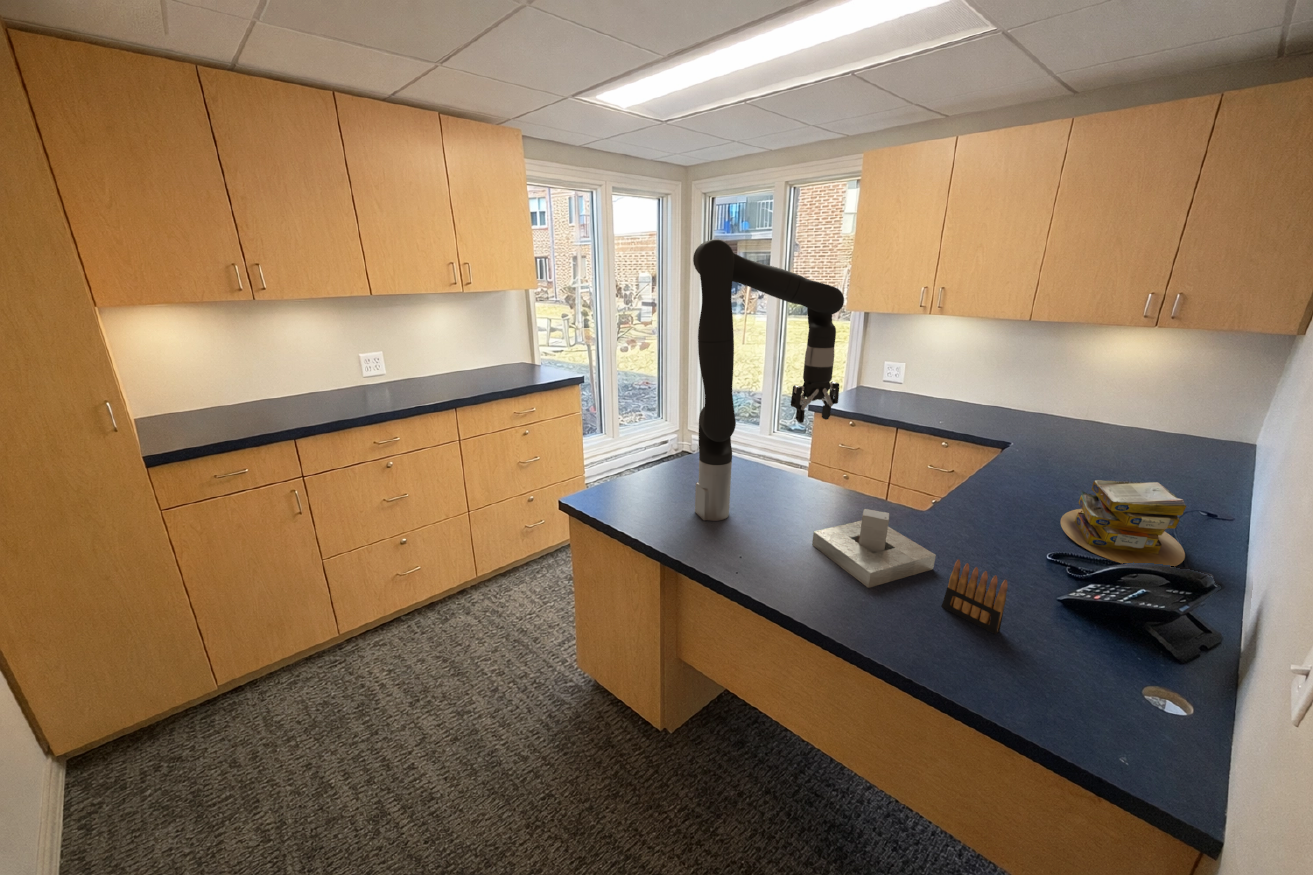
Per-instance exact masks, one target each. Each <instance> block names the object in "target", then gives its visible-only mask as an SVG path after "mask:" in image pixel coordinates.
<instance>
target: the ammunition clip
mask: <svg viewBox="0 0 1313 875" xmlns="http://www.w3.org/2000/svg"><path fill="white" fill-rule="evenodd" d="M960 571H961V560H960V559H957V560H956V561H955V562H954V566H953V570H952V571H951V574H950V577H949V580H948V581H949V582H948V584H947V585H948V586H947V587H946V590H945V593H944V597H943V600H942V604H941V607H942V608H943V609H945V610H946V611H949V612H950V611H951V612H950V613H952V614H954V615H956V616H958V617H960V618H962V619H964V620H966V619H967V620H966V621H969V622H970V623H972V624H974V625H976V626H978V625H979V626H978V627H980V628H982V629H983V630H985V629H986V631H988V632H989V633H991V632H992V633H991V634H993V633H994V634H993V635H997V634H998V633H999V632H1000V631H1001V625H1002V620H1003V616H1004V609H1005V605H1006V601H1007V592H1008V584H1009V583H1008V580H1007V579H1004V580H1003V582H1002V583H1001V585H1000V587H999V590H998V593H997V586H998V576H997V575H996V574H995V575H994V576H992V579H991V580H990V583H989V586H988V589H987V584H988V578H989V577H988V571H986V570H985V571H983V573H982V574H981V576H980V580H979V583H978V579H979V568H978V567H977V566H975V567H974V569H973V571H972V572H971V575H970V579H969V574H970V564H969V563H968V562H967V563H965V565H964V567H963V569H962V572H961V574H960Z"/></svg>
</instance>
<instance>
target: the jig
mask: <svg viewBox="0 0 1313 875" xmlns="http://www.w3.org/2000/svg"><path fill="white" fill-rule="evenodd" d="M861 523H862V520H857V521H853V522H850V523H849V522H848V523H845V524H840V525H835V526H832V527H831V526H830V527H827V528H823V529H818V530H814V531H813V533H812V534H813V535H812V543H811V545H812V546H813V547H814V548H816V549H817V550H818V551H819V552H820V553H822V554H823V555H824V556H826V557H827V558H829V560H831V561H832V562H833V563H835V564H836V565H838V566H839V567H840V568H842V569H843V570H844V571H845V572H847V573H848V574H849V575H851V576H852V577H853V578H854V579H856V580H857V581H859V582H860V583H862V585H864V586H865V587H866V588H867V589H870V588H874V587H876V586H877V587H878V586H879V585H883V584H887V583H891V582H894V581H897V580H900V579H905V578H907V577H911V576H915V575H917V574H921V573H924V572H925V573H926V572H928V571H929V572H930V571H932V570H933V569H934V566H935V561H936V557H937V554H935V553H933V552H932V551H930V550H928V549H927V548H925V547H923V546H922V545H920V544H918V543H917V542H915V541H913V540H912V539H910V538H909V537H907V536H905V535H903V534H901V533H900V532H898V531H897V530H895V529H893V528H892V527H890V526H888V530H887V536H886V543H885V549H884V551H881V552H878V553H874V554H873V553H872V552H870V551H869V550H867V549H866V548H864V547H863V546H861V545H860V544H859V538H860V531H861Z"/></svg>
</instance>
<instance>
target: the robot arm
mask: <svg viewBox="0 0 1313 875" xmlns="http://www.w3.org/2000/svg"><path fill="white" fill-rule="evenodd" d="M692 261H693V262H692V263H693V266H694V269H695V270H696V272H697V273H698V274H699V278H700V279H699V280H700V285H701V286H700V288H701V310H700V314H699V321H698V332H697V344H698V345H697V348H698V350H697V351H698V362H699V368H700V373H701V374H700V375H701V378H702V379H701V380H702V382H703V383H702V384H703V389H704V390H703V391H704V406H703V407H702V409H701V411H700V413H699V418H698V453H699V456H698V457H699V458H698V462H699V463H698V482H695V494H694V496H695V497H694V513H696V514H697V515H698V517H699V518H701V519H702V520H703V521H714V522H715V521H716V522H717V521H723V520H726V519H727V518H729V516H730V502H731V500H730V499H731V485H732V484H731V483H732V482H731V481H732V480H731V479H732V466H733V465H732V463H733V448H732V435H733V434H734V432H735V429H736V426H737V424H736V423H737V421H736V414H735V413H736V412H735V407H734V406H735V405H734V398H733V396H734V395H733V384H734V383H733V381H734V361H735V360H734V358H735V342H734V341H735V338H734V317H733V316H734V315H733V306H732V304H733V303H732V294H733V293H732V291H733V283H736V284H740V285H743V286H746V287H748V288H752V289H753V290H756V291H758V292H760V293H764V294H766V295H768V296H770V297H774V298H776V299H779V300H781V301H784V302H787V303H790V304H795V305H799V306H803V307H805V308H806V309H807V310H806V311H807V322H808V323H807V324H808V332H807V333H808V334H807V343H806V344H807V345H806V350H805V354H804V363H803V375H802V379H803V384H802V385H797V384H795V385H793V386H792V391H791V397H790V398H791V399H790V406H791V407H792V408H794V409H796V412H795V420H796V422H797V423H799V424H803V423H804V420H805V412H806V410H805V408H806V407H807V406H808V405H809V404H811V402H812V401H817V400H819V401H821V402H822V403H823V405H822V409H821V410H822V411H821V418H822V419H824V420H829V419H830V417H831V413H832V412H831V410H832V407H833V405H835V404H836V405H837V404H838V403H839V398H840V383H839V382H835V381H832V379H833V370H834V364H835V362H834V361H835V344H836V335H837V328H836V326H835V324H834V323H833V315H835V314H836V313H837V314H838V312H839V311H841V310H842V308H843V306H844V304H845V296H844V294H843V292H842V291H841V290H840V289H839V288H838V287H835V286H833V285H830V284H827V283H823V282H820V281H815V280H811V279H809V278H807V277H805V276H802V275H800V274H797V273H794V272H792V271H790V270H786V269H783V268H780V267H778V266H777V267H776V266H773V265H769V264H764V263H761V262H758V261H754V260H751V259H748V258H745V257H743V256H742V255H739V254H738V253H735V252H734V251H733V249H732V247H731V246H730V244H729V243H728V242H726V241H725V240H723V239H719V238H717V239H715V238H714V239H709V240H706V241H703V242H702V243H700V244H699V246H698V247H697V248H696V249H695V251H694V252H693V257H692ZM828 392H829V393H828Z"/></svg>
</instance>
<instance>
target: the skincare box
mask: <svg viewBox="0 0 1313 875" xmlns="http://www.w3.org/2000/svg"><path fill="white" fill-rule="evenodd" d="M861 521H862V523H861V531H860V538H859V544H860V545H861V546H863V547H864V548H866V549H867V550H869V551H870V552H872V553H873V554H874V553H878V552H881V551H884V549H885V543H886V536H887V530H888V527H889V523H890V513H889V512H885V511H880V510H879V511H878V510H874V509H868V508H863V512H862V517H861Z"/></svg>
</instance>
